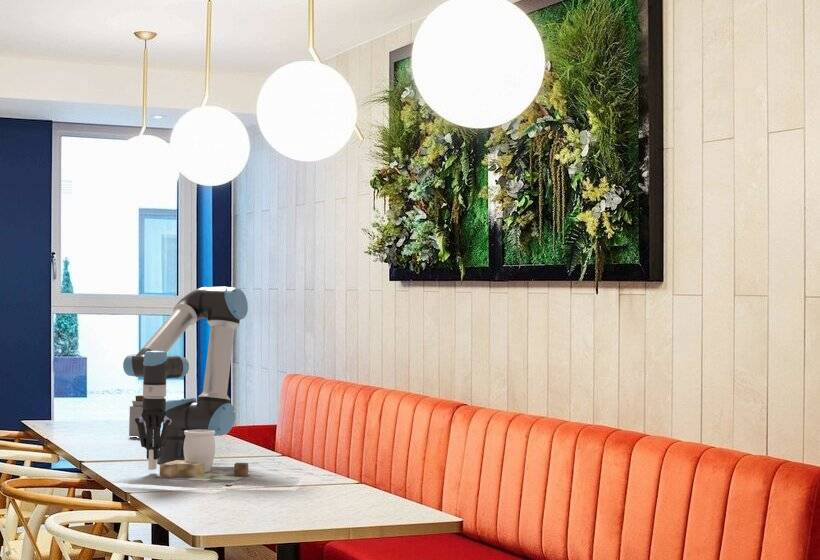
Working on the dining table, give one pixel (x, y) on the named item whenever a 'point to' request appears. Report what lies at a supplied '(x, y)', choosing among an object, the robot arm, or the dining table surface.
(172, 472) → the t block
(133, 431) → the perfume bottle
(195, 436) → the jar
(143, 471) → the dining table surface
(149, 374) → the robot arm
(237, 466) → the walnut cube
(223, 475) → the mat
